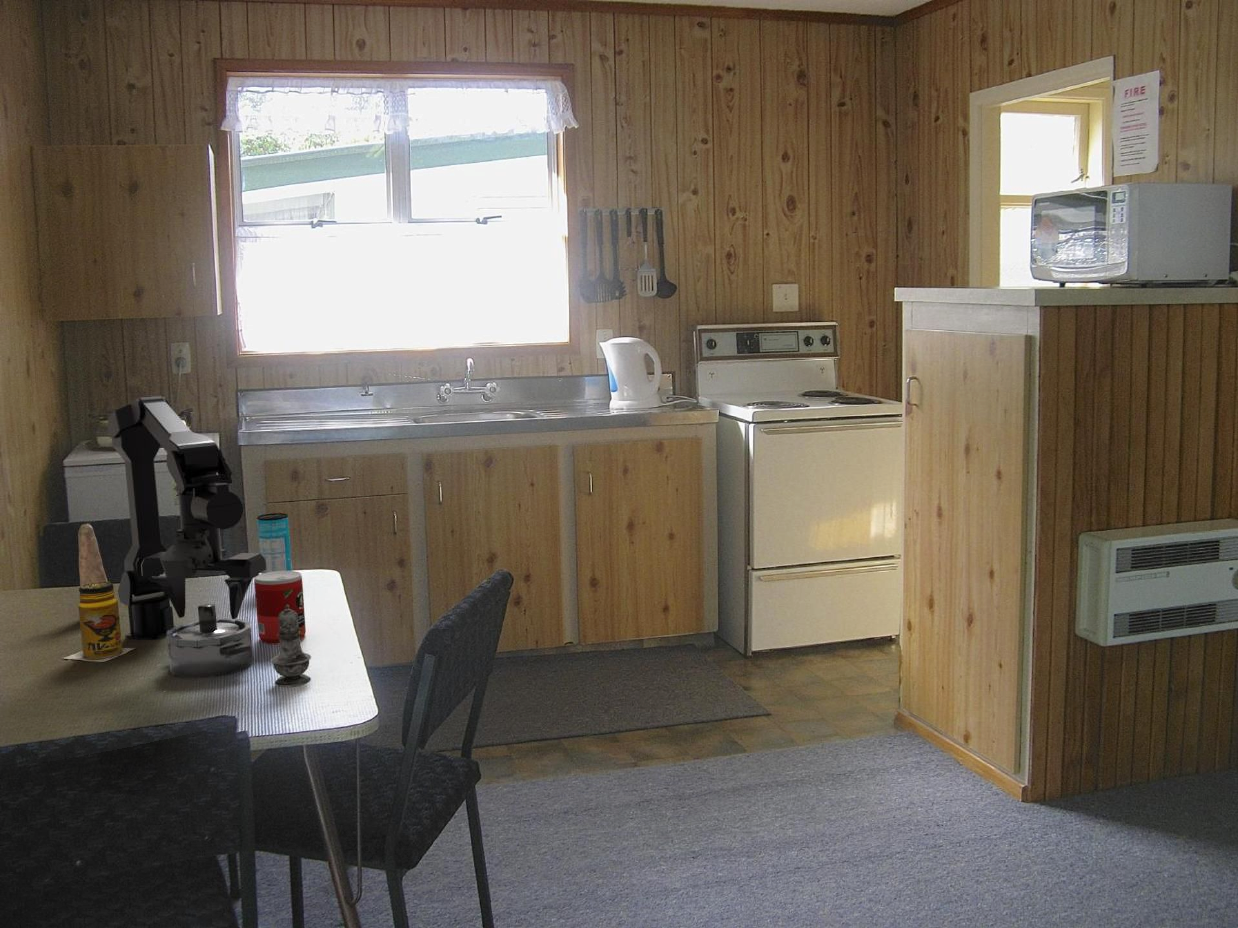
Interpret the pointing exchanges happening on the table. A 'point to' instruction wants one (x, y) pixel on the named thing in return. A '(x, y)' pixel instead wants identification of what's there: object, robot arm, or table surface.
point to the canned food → (278, 602)
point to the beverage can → (275, 541)
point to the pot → (210, 651)
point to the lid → (208, 625)
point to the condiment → (99, 623)
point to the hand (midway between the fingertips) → (207, 617)
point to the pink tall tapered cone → (89, 557)
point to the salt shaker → (290, 652)
